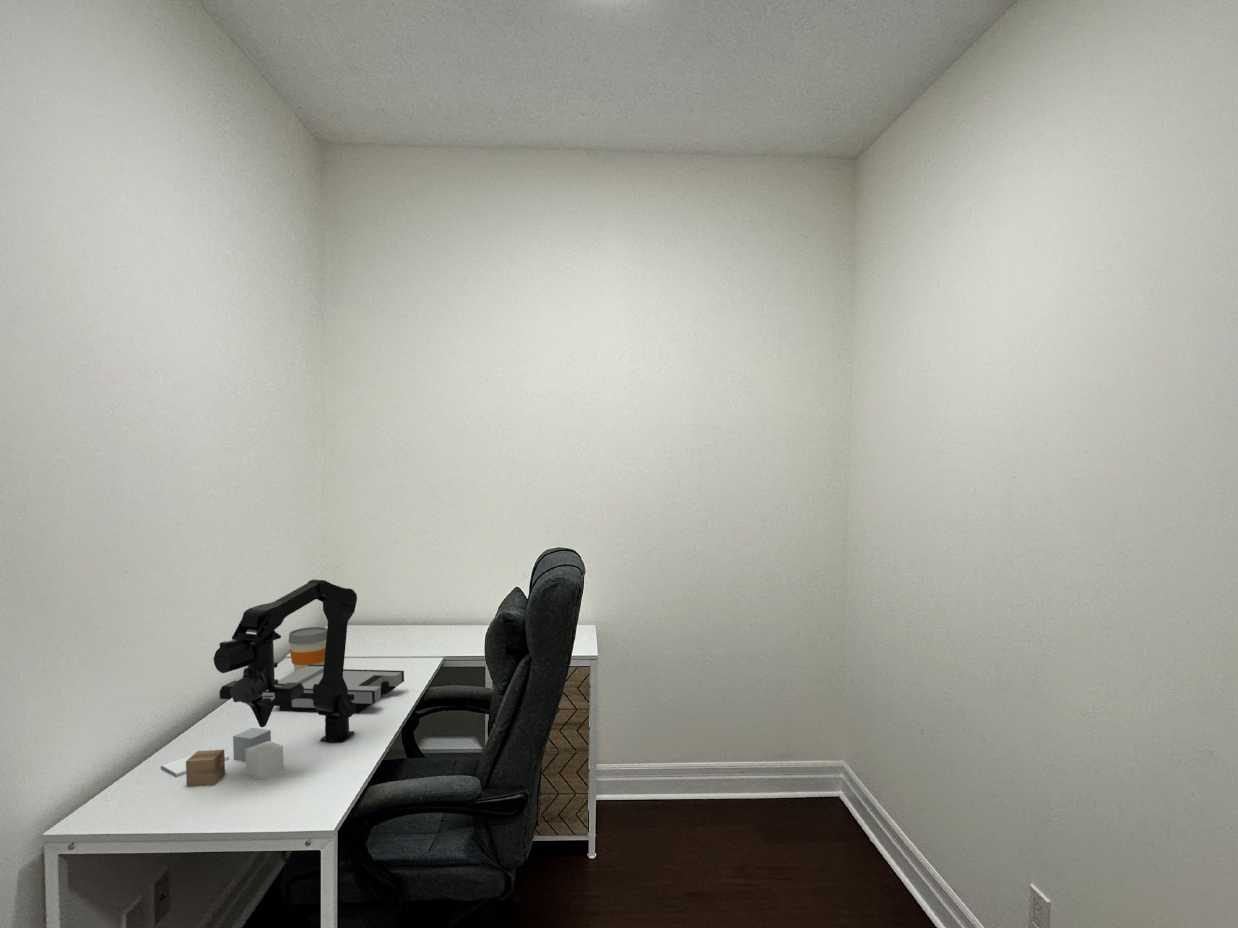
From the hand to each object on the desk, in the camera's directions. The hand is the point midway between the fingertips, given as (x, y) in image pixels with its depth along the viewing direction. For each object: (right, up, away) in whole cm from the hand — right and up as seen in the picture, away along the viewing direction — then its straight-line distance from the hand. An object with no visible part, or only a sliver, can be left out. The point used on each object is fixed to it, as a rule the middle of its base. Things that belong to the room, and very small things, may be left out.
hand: (263, 726), depth 183 cm
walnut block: (-12, -11, -4) cm, 17 cm away
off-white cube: (0, -11, 0) cm, 11 cm away
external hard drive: (-19, -12, +6) cm, 23 cm away
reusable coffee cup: (-20, -10, +78) cm, 81 cm away
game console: (0, -10, +50) cm, 51 cm away
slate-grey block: (-7, -11, +10) cm, 16 cm away
